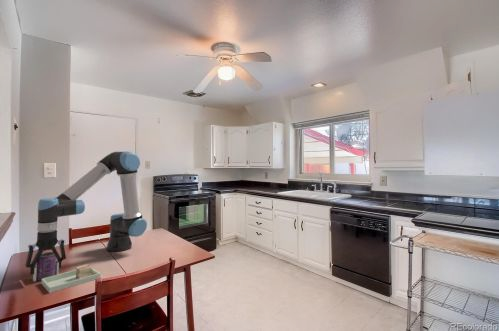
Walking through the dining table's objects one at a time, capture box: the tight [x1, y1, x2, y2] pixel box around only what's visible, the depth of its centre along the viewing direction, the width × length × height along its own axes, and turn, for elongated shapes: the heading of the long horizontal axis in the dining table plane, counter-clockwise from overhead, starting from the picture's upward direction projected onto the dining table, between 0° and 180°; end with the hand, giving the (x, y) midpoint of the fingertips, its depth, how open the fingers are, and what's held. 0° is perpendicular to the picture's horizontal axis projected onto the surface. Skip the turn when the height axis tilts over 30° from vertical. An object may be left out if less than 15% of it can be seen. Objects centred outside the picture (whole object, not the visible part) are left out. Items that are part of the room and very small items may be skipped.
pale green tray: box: [40, 267, 101, 294], centre depth 121 cm, size 13×20×3 cm, turn 141°
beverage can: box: [36, 251, 57, 282], centre depth 123 cm, size 7×7×12 cm
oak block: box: [75, 263, 93, 279], centre depth 125 cm, size 5×5×5 cm
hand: (45, 277), depth 123 cm, fingers open, 8 cm apart
